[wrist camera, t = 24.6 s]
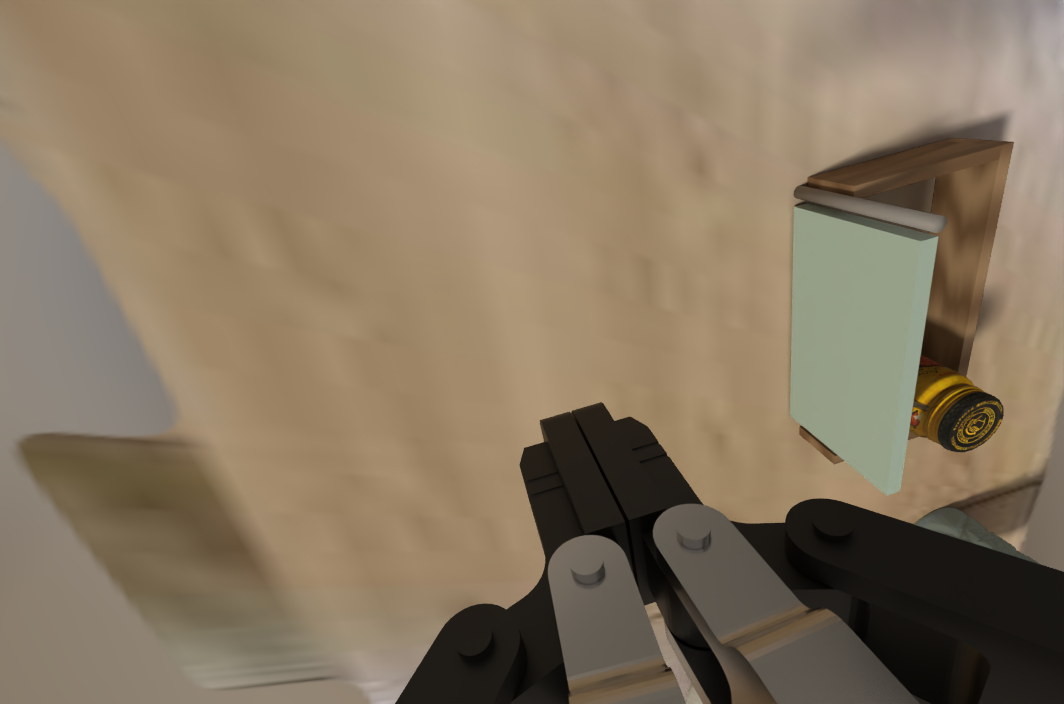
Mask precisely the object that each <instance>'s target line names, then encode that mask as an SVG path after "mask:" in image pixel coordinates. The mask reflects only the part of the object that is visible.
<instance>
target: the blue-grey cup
mask: <svg viewBox="0 0 1064 704" xmlns="http://www.w3.org/2000/svg"><path fill="white" fill-rule="evenodd" d="M914 525H917V526H920V527H923V528H927V529H930V530H933V531H936V532H939V533H942V534H946V535H949V536H952V537H955V538H958V539H961V540H964V541H968V542H971V543H974V544H977V545H980V546H983V547H987V548H990V549H993V550H996V551H999V552H1002V553H1006V554H1009V555H1012V556H1015V557H1018V558H1021V559H1024V560H1028V561H1031V562H1034V563H1037V564H1039V563H1038V562H1036V561H1035V560H1033V559H1031V558H1030V557H1028V556H1026V555H1024V554H1023V553H1021V552H1019V551H1016V548H1015V547H1014V546H1012V545H1011V544H1009V543H1008V542H1006V541H1005V540H1003V539H1002V538H1000V537H999V536H997V535H996V534H994V533H993V532H988V531H987V529H986V528H984V527H983V526H982V525H981V524H980V523H978V522H977V521H975V520H974V519H972V518H971V517H970V516H968V515H967V514H965V513H964V512H962V511H961V510H959V509H956V508H952V507H944V508H940V509H937V510H935V511H932V512H930V513H928V514H927V515H925V516H924V517H922V518H921V519H920V520H919V521H917V522H916V523H915V524H914ZM1040 565H1041V564H1040Z"/></svg>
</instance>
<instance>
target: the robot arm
mask: <svg viewBox="0 0 1064 704" xmlns="http://www.w3.org/2000/svg"><path fill="white" fill-rule="evenodd" d="M540 426H541V430H542V434H543V438H544V442H543V443H540V444H536V445H533V446H529V447H526V448H524V451H523V455H522V458H521V462H520V469H521V472H522V476H523V479H524V483H525V487H526V490H527V494H528V498H529V501H530V505H531V508H532V512H533V516H534V519H535V522H536V526H537V529H538V533H539V536H540V540H541V543H542V547H543V550H544V554H545V568H544V572H543V574H542V577H541V579H540V580H539V582H538V584H537V585H536V586H535V588H534V589H533V590H532V591H531V592H530V593H529V594H528V595H526V596H525V597H524V598H522V599H521V600H520V601H518V602H517V603H515V604H514V605H512V606H511V607H509V608H508V609H507V610H506V609H504V608H502V607H500V606H498V605H493V604H477V605H474V606H470V607H468V608H466V609H463V610H462V611H460V612H458V613H457V614H456V615H454V616H453V617H452V618H451V619H450V620H449V621H448V622H447V623H446V624H445V625H444V627H443V628H442V630H441V631H440V633H439V634H438V636H437V637H436V639H435V641H434V642H433V644H432V645H431V647H430V649H429V650H428V652H427V654H426V655H425V657H424V658H423V660H422V662H421V663H420V665H419V666H418V668H417V670H416V671H415V673H414V674H413V676H412V678H411V679H410V681H409V682H408V684H407V686H406V687H405V689H404V690H403V692H402V694H401V695H400V697H399V698H398V700H397V702H396V703H395V704H686V703H685V700H684V697H683V695H682V692H681V689H680V687H679V684H678V682H677V679H676V677H675V675H674V673H673V671H672V669H671V668H670V667H667V665H666V663H665V661H664V659H663V656H662V653H661V651H660V648H659V645H658V642H657V640H656V637H655V634H654V631H653V629H652V626H651V623H650V620H649V618H648V615H647V612H646V609H645V606H644V605H647V604H650V603H653V602H656V603H657V606H658V608H659V610H660V612H661V614H662V616H663V618H664V624H665V631H666V636H667V639H668V641H669V644H670V645H671V647H672V649H673V651H674V653H675V654H676V656H677V658H678V660H679V662H680V663H681V665H682V667H683V669H684V671H685V672H686V674H687V676H688V678H689V679H690V681H691V683H692V685H693V687H694V688H695V690H696V692H697V694H698V696H699V697H700V699H701V701H702V703H703V704H1064V572H1062V571H1059V570H1056V569H1053V568H1049V567H1047V566H1043V565H1040V564H1037V563H1034V562H1031V561H1028V560H1024V559H1021V558H1018V557H1015V556H1012V555H1009V554H1006V553H1002V552H999V551H996V550H993V549H990V548H987V547H983V546H980V545H977V544H974V543H971V542H968V541H964V540H961V539H958V538H955V537H952V536H949V535H946V534H942V533H939V532H936V531H933V530H930V529H927V528H923V527H920V526H917V525H914V524H911V523H908V522H904V521H901V520H898V519H895V518H892V517H889V516H886V515H882V514H879V513H876V512H873V511H870V510H867V509H863V508H860V507H857V506H854V505H851V504H848V503H844V502H841V501H837V500H832V499H820V498H819V499H810V500H805V501H803V502H800V503H798V504H796V505H795V506H794V507H792V508H791V509H790V511H789V512H788V514H787V516H786V520H785V523H760V524H746V523H738V522H734V521H730V520H729V519H728V518H727V517H726V516H725V515H723V514H722V513H721V512H719V511H717V510H715V509H714V508H711V507H708V506H705V505H703V504H702V502H701V501H700V500H699V498H698V497H697V495H696V494H695V493H694V491H693V490H692V488H691V487H690V486H689V484H688V483H687V481H686V480H685V479H684V477H683V476H682V474H681V473H680V472H679V470H678V469H677V467H676V466H675V464H674V463H673V462H672V460H671V459H670V457H668V456H667V453H666V452H665V450H664V449H663V448H662V446H661V445H660V444H659V443H658V440H657V439H656V438H655V436H654V435H653V433H652V432H651V431H650V429H649V428H648V427H647V426H646V425H644V424H642V423H640V422H639V421H637V420H635V419H634V418H632V417H627V418H624V419H620V420H617V421H614V420H613V418H612V417H611V415H610V413H609V412H608V410H607V409H606V407H605V405H604V404H603V403H602V402H601V403H597V404H594V405H590V406H587V407H583V408H580V409H577V410H573V411H572V412H571V413H570V412H567V413H563V414H560V415H556V416H553V417H550V418H546V419H543V420H540Z"/></svg>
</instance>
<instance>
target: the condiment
mask: <svg viewBox="0 0 1064 704" xmlns="http://www.w3.org/2000/svg"><path fill="white" fill-rule="evenodd" d="M1002 419H1003V405H1002V404H1001V402H1000V400H999V399H997V398H996V397H994V396H992V395H990V394H988V393H986V392H984V391H983V390H981V389H980V388H978V387H976V386H974V385H973V383H972V381H970V380H969V379H968V378H967V377H965V376H963V375H961V374H960V373H958V372H956V371H954V370H951V369H949V368H947V367H945V366H943V365H941V364H939V363H937V362H935V361H933V360H931V359H929V358H927V357H925V356H923V355H921V356H920V362H919V369H918V375H917V382H916V389H915V395H914V402H913V409H912V415H911V422H910V428H909V431H910V432H912V433H913V434H915V435H917V436H920V437H925V438H926V437H927V438H928V439H929V440H932V441H934V442H936V443H938V444H941V445H942V446H943V447H944V448H945V449H947V450H950V451H955V452H966V451H970V450H973V449H975V448H977V447H978V446H980V445H982V444H983V443H985V442H986V441H987V440H988V439H989V438H990V437H991V436H992V435H993V434H994V433H995V432H996V430H997V429H998V427H999V426H1000V424H1001V421H1002Z"/></svg>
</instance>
